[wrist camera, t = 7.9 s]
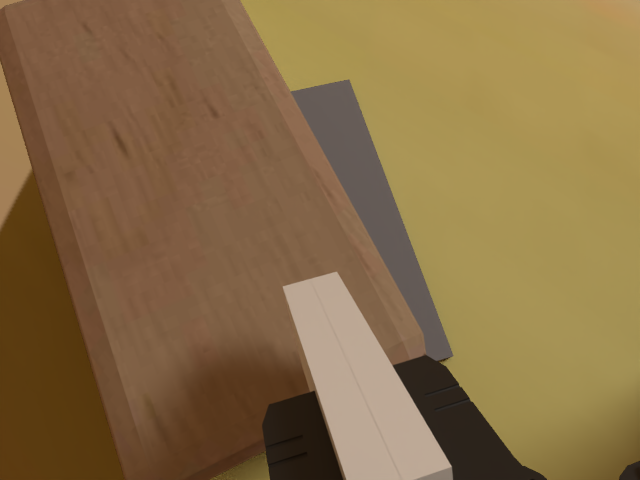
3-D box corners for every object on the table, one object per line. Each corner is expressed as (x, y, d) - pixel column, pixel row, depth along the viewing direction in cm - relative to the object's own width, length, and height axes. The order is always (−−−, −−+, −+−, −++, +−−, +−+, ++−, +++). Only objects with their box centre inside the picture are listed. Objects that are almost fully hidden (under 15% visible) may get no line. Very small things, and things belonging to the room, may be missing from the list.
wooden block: (447, 357, 15) (211, -66, 21) (123, 522, 13) (-27, 2, 19) (391, 386, 24) (239, 87, 30) (199, 484, 22) (81, 142, 28)
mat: (451, 357, 25) (453, 356, 24) (179, 437, 23) (177, 437, 23) (348, 83, 31) (349, 79, 31) (128, 129, 29) (126, 125, 29)
